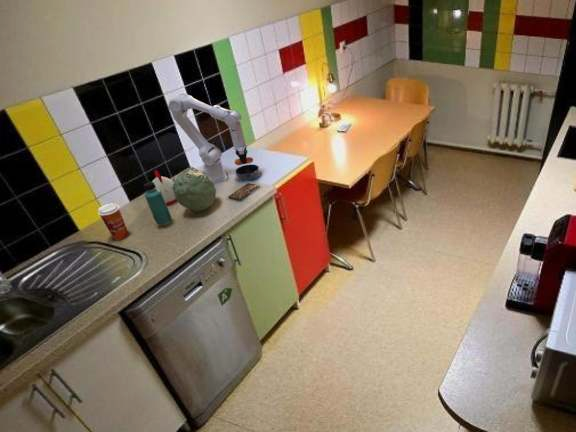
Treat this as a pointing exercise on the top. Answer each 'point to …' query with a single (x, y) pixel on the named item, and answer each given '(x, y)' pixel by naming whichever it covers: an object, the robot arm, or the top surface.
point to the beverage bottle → (157, 204)
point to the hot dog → (249, 160)
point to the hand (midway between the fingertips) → (244, 162)
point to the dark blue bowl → (247, 172)
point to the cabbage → (194, 189)
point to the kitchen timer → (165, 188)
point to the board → (243, 192)
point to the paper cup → (113, 220)
